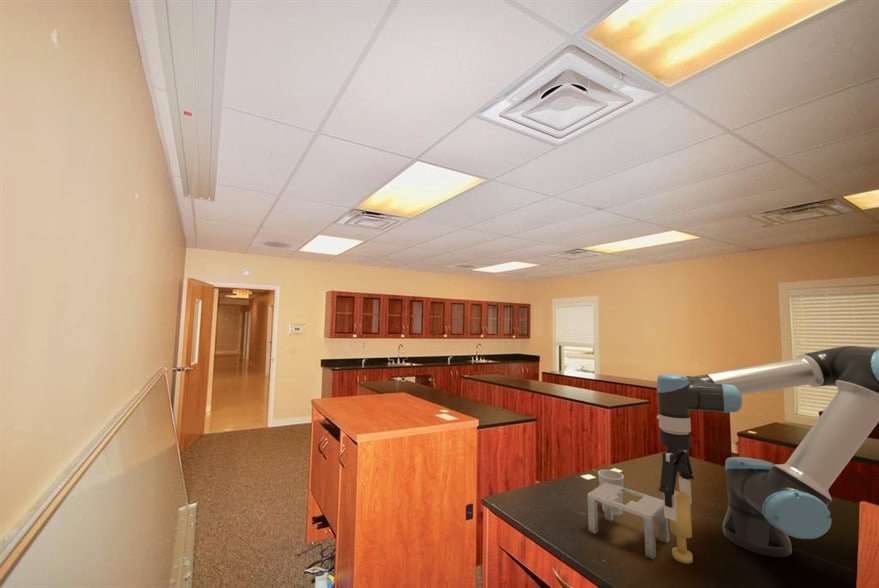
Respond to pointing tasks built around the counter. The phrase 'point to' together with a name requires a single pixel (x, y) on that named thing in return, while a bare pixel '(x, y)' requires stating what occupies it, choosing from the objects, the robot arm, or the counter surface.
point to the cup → (614, 479)
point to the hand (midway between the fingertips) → (678, 510)
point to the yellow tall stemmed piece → (682, 528)
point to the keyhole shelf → (644, 508)
